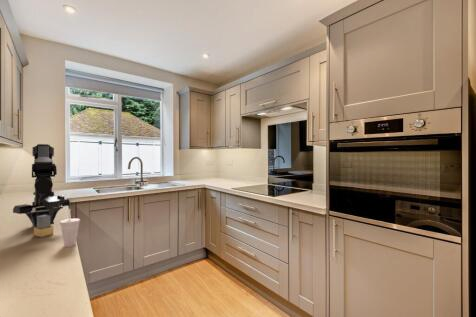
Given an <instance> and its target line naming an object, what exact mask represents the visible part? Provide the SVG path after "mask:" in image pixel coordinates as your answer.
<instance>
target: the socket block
mask: <svg viewBox="0 0 476 317" xmlns="http://www.w3.org/2000/svg"><path fill="white" fill-rule="evenodd" d="M49 236H54V225H53V226H51V225H50V227H49V228H45V229H37V227H33V237H36V238H40V239H42V238H45V237H49Z"/></svg>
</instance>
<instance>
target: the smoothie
mask: <svg viewBox="0 0 476 317" xmlns="http://www.w3.org/2000/svg"><path fill="white" fill-rule="evenodd" d="M71 216H72V215H71V208H69V209H68V218H66V219H62V220H60V221H59V225H60V227H61V233H62V241H63V247H64V248H69V247H73V246H76V245H77V238H78V234H79V233H78V232H79V226H80V225H79V224H80V223H81V219H80V218H78V217H77V218H76V217H75V218H74V217H73V218H72V217H71Z"/></svg>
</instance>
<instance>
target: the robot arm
mask: <svg viewBox="0 0 476 317" xmlns="http://www.w3.org/2000/svg"><path fill="white" fill-rule="evenodd" d="M54 156H55V148H54V147H53V146H51V144H48V143H38V144H36V145H35V146H32V157H34V162H33V163H31V178H35V179H34V185H33V186H34V192H33V193H32V194H33V195H34V200H33V201H32V203H31V204H32V205H31V204H27V203H26V204H18V205H14V207H13V208H12V213H13V214H19V215H23V214H24V215H26V217H27V218H28V220H30V222H31V224H32V226H33V228H36V227H37V216H41V215H50V225H51V224H54V223H55V222H54V221H55V218H56V216H57V214H58V212H59V211H60V210H61V209H63V208H64V207H69V206H71V201H70V200H69V199H68V198H67V199H66V198H65V195H64V194H60V195H57V196H56V195H55V192H54V191H53V186H54V184H53V179H52V177H53V178H54V177H56V175H58V174H57V173H58V172H57V171H58V170H57V169H58V168H57V165H56V164H55V163H54V162H53V157H54Z"/></svg>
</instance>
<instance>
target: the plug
mask: <svg viewBox="0 0 476 317" xmlns="http://www.w3.org/2000/svg"><path fill="white" fill-rule="evenodd" d="M50 226H51V224H50V215H41V216H37V229H45V228H49V227H50Z"/></svg>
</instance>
